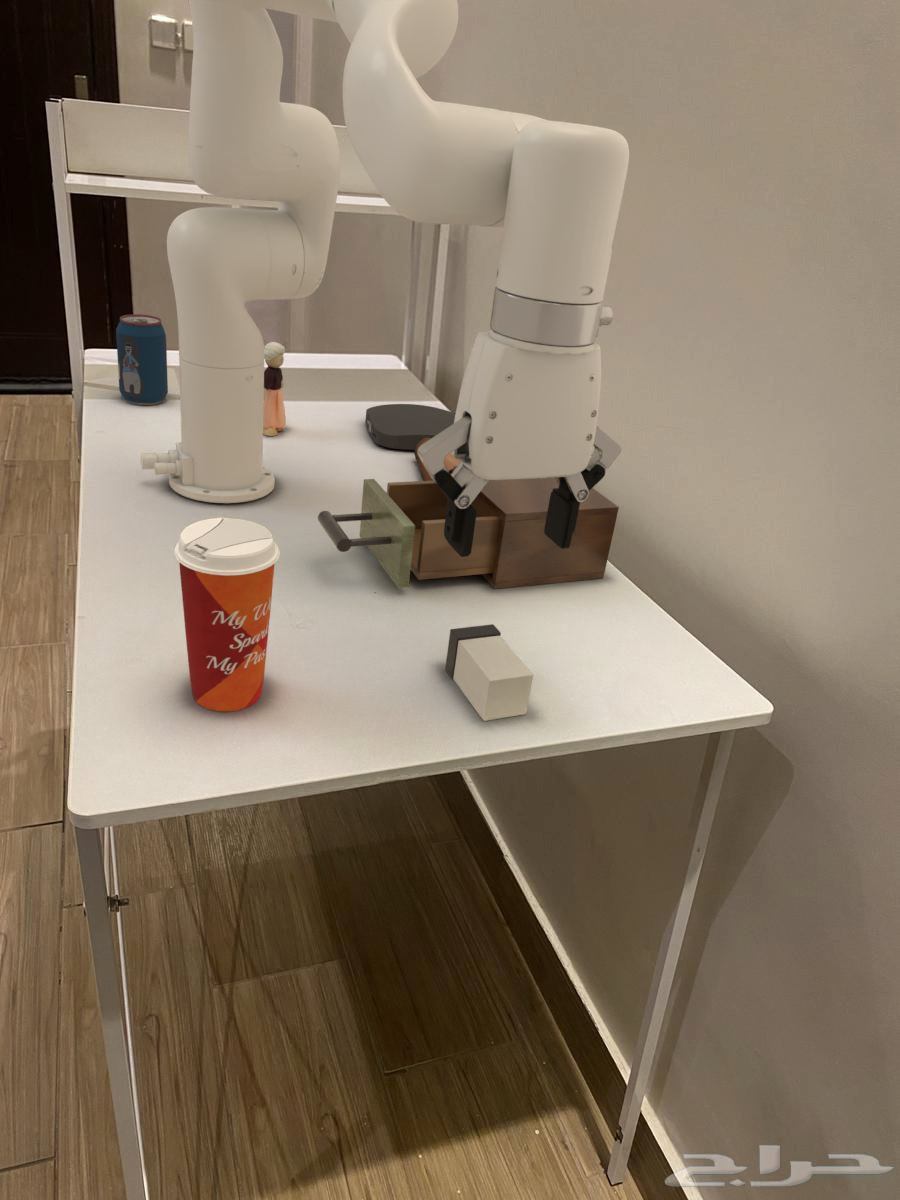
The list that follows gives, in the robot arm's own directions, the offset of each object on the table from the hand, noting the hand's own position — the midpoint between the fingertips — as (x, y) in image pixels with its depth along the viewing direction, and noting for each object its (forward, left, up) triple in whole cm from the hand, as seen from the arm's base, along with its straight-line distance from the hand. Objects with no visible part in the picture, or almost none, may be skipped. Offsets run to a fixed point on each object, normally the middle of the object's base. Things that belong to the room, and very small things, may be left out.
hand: (508, 544), depth 72 cm
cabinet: (+16, +24, -14) cm, 32 cm away
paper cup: (-21, +5, -14) cm, 26 cm away
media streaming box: (+19, +65, -14) cm, 69 cm away
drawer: (+2, +24, -13) cm, 27 cm away
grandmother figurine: (-2, +69, -14) cm, 70 cm away
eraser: (0, 0, -14) cm, 14 cm away
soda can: (-18, +84, -14) cm, 87 cm away
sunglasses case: (+16, +45, -14) cm, 50 cm away
